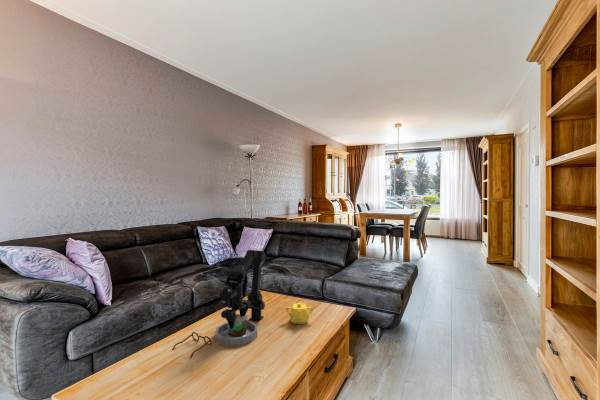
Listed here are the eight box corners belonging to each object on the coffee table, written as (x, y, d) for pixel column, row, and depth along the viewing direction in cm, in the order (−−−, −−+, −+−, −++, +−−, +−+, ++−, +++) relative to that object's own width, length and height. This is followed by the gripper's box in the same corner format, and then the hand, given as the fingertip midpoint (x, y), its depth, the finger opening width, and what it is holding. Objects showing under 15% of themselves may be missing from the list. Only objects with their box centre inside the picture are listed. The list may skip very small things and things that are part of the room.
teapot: (316, 322, 167) (316, 304, 167) (299, 329, 158) (299, 310, 158) (300, 315, 177) (300, 298, 177) (283, 321, 169) (283, 303, 169)
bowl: (231, 324, 165) (231, 318, 164) (264, 330, 157) (264, 323, 157) (206, 341, 145) (206, 334, 145) (243, 349, 138) (243, 342, 138)
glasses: (212, 346, 141) (212, 336, 141) (189, 360, 130) (189, 349, 130) (193, 340, 148) (193, 330, 148) (170, 352, 136) (170, 341, 136)
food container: (220, 335, 150) (220, 316, 149) (228, 330, 155) (227, 311, 155) (241, 340, 145) (241, 319, 145) (248, 334, 151) (248, 315, 151)
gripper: (233, 287, 162) (233, 315, 163) (211, 298, 145) (212, 330, 145) (251, 290, 158) (251, 318, 159) (231, 301, 141) (231, 334, 141)
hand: (236, 325), depth 151 cm, fingers open, 9 cm apart
